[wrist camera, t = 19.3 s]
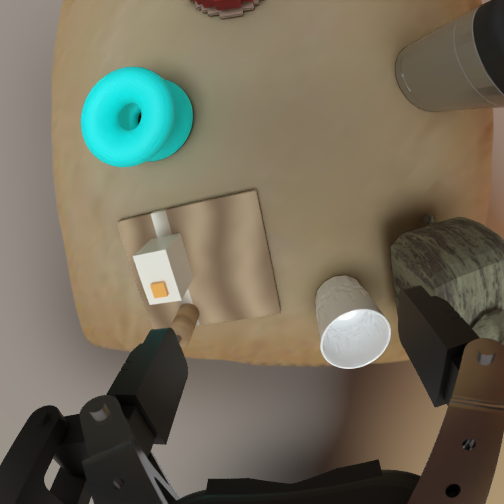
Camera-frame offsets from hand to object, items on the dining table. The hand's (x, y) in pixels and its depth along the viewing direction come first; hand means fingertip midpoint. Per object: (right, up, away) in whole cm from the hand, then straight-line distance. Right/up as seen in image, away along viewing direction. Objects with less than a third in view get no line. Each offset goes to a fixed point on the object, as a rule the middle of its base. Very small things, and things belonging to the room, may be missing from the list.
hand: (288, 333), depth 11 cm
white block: (-11, +2, +29) cm, 31 cm away
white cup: (+10, -3, +31) cm, 33 cm away
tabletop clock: (+20, +2, +28) cm, 35 cm away
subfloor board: (-8, +1, +30) cm, 31 cm away
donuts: (-13, +19, +24) cm, 33 cm away
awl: (-10, -5, +31) cm, 33 cm away
